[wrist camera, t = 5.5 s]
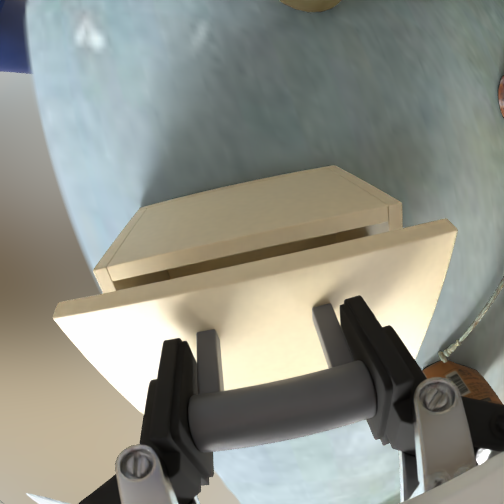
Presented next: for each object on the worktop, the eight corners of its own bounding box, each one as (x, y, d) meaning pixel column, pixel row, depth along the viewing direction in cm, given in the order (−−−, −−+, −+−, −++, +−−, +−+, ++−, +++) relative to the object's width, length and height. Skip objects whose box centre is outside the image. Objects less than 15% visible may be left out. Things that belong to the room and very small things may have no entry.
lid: (57, 301, 10) (21, 423, 6) (446, 217, 10) (530, 314, 6) (188, 443, 20) (192, 505, 16) (388, 400, 19) (409, 459, 16)
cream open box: (139, 207, 22) (92, 270, 13) (335, 164, 22) (402, 202, 13) (194, 355, 29) (189, 442, 20) (347, 322, 28) (387, 400, 20)
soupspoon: (538, 211, 26) (517, 183, 25) (556, 219, 23) (537, 191, 22) (451, 359, 33) (422, 348, 32) (464, 375, 30) (435, 366, 29)
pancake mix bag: (437, 341, 31) (554, 530, 6) (494, 365, 36) (578, 489, 11) (401, 381, 34) (492, 570, 8) (467, 395, 39) (540, 520, 13)
